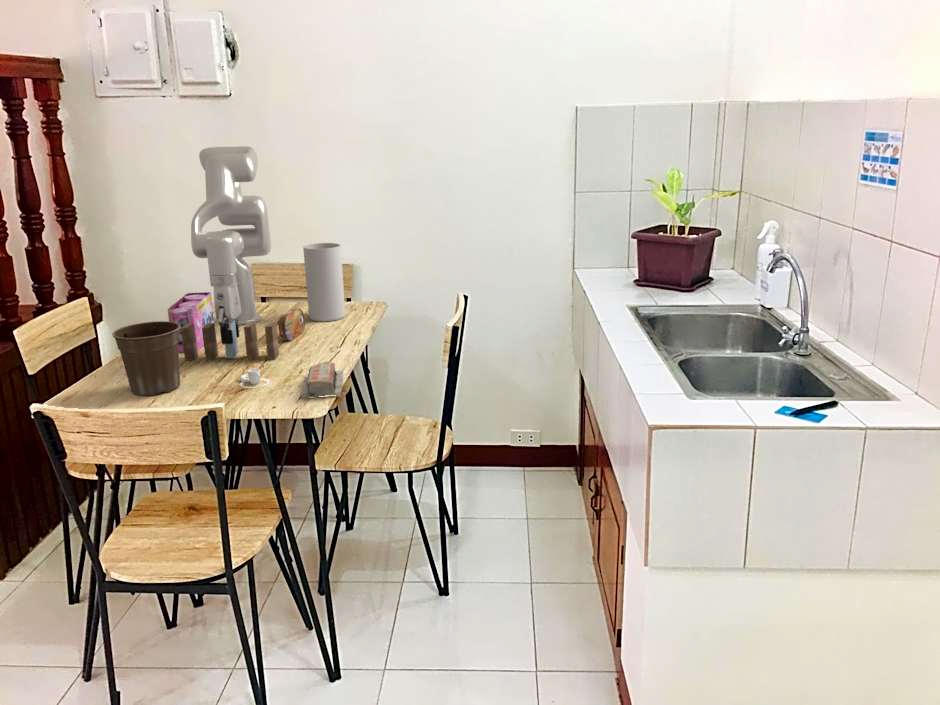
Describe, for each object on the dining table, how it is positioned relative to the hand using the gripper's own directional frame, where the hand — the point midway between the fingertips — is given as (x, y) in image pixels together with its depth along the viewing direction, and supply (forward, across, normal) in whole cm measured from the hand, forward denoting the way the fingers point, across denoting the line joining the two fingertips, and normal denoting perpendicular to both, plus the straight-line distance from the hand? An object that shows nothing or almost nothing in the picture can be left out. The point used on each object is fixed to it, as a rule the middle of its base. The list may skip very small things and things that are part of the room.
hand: (230, 339), depth 230 cm
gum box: (+6, +18, +17) cm, 25 cm away
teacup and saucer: (+6, -20, -13) cm, 25 cm away
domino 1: (+6, 0, +12) cm, 13 cm away
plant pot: (+6, -26, +13) cm, 30 cm away
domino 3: (+5, 0, 0) cm, 5 cm away
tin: (+6, +22, -13) cm, 26 cm away
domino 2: (+6, 0, +6) cm, 8 cm away
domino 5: (+6, 0, -12) cm, 13 cm away
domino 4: (+6, 0, -6) cm, 8 cm away
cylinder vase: (+6, +46, -20) cm, 50 cm away
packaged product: (+6, -27, -31) cm, 42 cm away
